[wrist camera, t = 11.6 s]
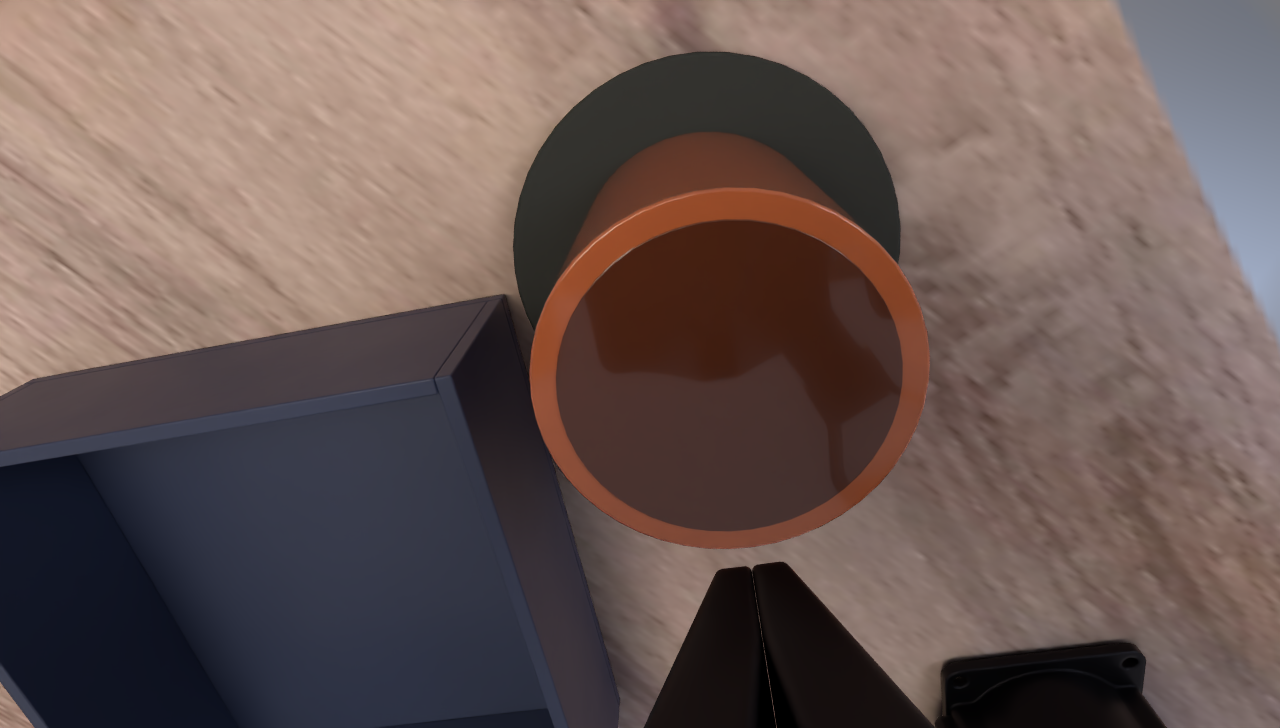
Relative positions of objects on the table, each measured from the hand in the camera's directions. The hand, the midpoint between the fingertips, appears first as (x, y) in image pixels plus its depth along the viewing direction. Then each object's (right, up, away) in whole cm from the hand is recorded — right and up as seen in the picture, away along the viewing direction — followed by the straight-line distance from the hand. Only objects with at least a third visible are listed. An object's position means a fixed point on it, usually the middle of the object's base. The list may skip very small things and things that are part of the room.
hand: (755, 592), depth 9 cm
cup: (0, +5, +10) cm, 11 cm away
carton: (-11, -4, +15) cm, 19 cm away
